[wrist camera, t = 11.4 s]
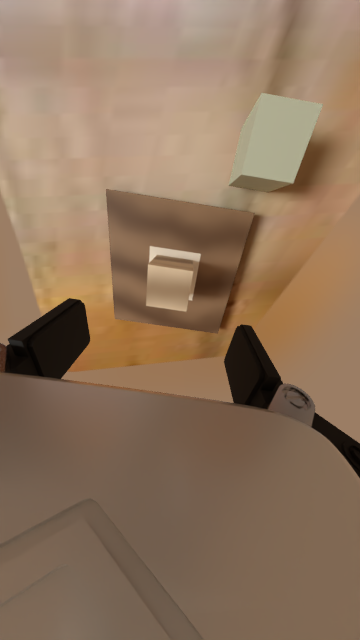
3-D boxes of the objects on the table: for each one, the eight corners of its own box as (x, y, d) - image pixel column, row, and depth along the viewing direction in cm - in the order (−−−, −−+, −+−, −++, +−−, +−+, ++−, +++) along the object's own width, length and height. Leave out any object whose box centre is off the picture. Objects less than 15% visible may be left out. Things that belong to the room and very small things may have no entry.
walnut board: (112, 191, 22) (105, 188, 20) (249, 213, 22) (254, 213, 21) (119, 313, 31) (114, 319, 29) (216, 327, 32) (217, 333, 30)
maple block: (157, 254, 24) (147, 264, 18) (192, 260, 24) (193, 271, 19) (154, 288, 26) (146, 305, 21) (186, 293, 26) (186, 311, 21)
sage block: (241, 128, 19) (261, 92, 13) (286, 136, 19) (323, 104, 14) (228, 185, 21) (241, 174, 16) (267, 192, 21) (293, 183, 16)
